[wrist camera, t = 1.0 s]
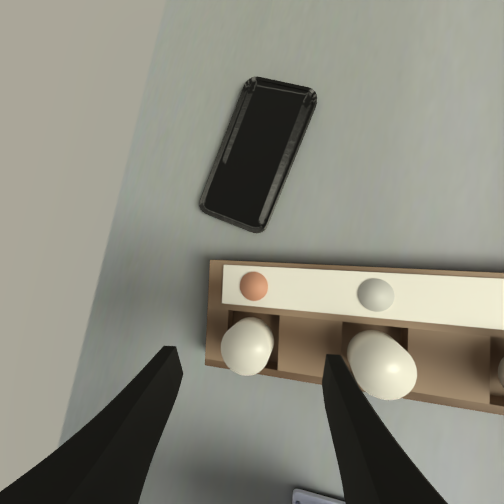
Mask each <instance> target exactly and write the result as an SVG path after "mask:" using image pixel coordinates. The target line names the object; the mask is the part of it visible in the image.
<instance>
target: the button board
mask: <svg viewBox="0 0 504 504" xmlns="http://www.w3.org/2000/svg"><path fill="white" fill-rule="evenodd" d="M224 265H241V266H261V267H281V268H301V269H320V270H340V271H360V272H380V273H400V274H420V275H440V276H460V277H480V278H500V279H504V273H498V272H476V271H454V270H432V269H409V268H387V267H365V266H343V265H320V264H298V263H276V262H254V261H232V260H210V270H209V291H208V311H207V332H206V353H205V365H208V366H213V367H219V368H225V369H230V368H229V367H228V366H227V365H226V363H225V362H224V360H223V357H222V354H221V342H222V338H223V336H224V334H225V333H226V332H227V331H228V330H229V329H230V328H231V327H232V326H234V325H235V324H236V323H237V322H238V321H240V320H241V319H243V318H247V317H255V318H258V319H261V320H262V321H264V322H265V323H266V324H267V325H268V326H269V327H270V329H271V331H272V333H273V337H274V346H273V349H272V352H271V354H270V357H269V359H268V361H267V364H266V365H265V367H264V368H263V369H262V370H261V371H260V372H259V373H257V374H261V375H267V376H273V377H279V378H285V379H291V380H297V381H303V382H309V383H315V384H321V385H322V378H323V371H324V365H325V359H326V354H336V355H341V356H342V358H343V359H344V361H345V363H346V365H347V367H348V369H349V370H350V372H351V374H352V376H353V377H354V374H353V372H352V369H351V366H350V364H349V361H348V358H347V348H348V344H349V342H350V341H351V339H352V338H353V337H354V336H355V335H356V334H358V333H360V332H362V331H366V330H377V331H381V332H384V333H386V334H387V335H389V336H390V337H392V338H393V339H394V340H395V341H396V342H397V343H398V344H399V345H400V346H402V347H403V348H404V349H405V350H406V351H407V352H408V353H409V354H410V356H411V357H412V359H413V360H414V362H415V365H416V369H417V379H416V383H415V385H414V387H413V389H412V390H411V391H410V392H409V393H408V394H407V395H405V396H404V397H401V398H404V399H410V400H416V401H422V402H428V403H434V404H440V405H446V406H452V407H458V408H464V409H470V410H476V411H482V412H487V413H493V414H499V415H504V388H503V387H502V385H501V383H500V381H499V377H498V367H499V364H500V361H501V360H502V358H503V357H504V330H500V329H489V328H479V327H468V326H457V325H447V324H436V323H426V322H415V321H404V320H394V319H383V318H372V317H362V316H351V315H341V314H330V313H319V312H309V311H298V310H288V309H277V308H266V307H256V306H245V305H235V304H224V303H222V290H223V268H224ZM354 379H355V377H354ZM355 381H356V379H355ZM356 382H357V381H356ZM357 384H358V382H357ZM358 386H359V387H360V385H359V384H358ZM360 389H361V390H362V392H366V391H364V390H363V389H362V388H361V387H360Z"/></svg>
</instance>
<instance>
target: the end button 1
mask: <svg viewBox="0 0 504 504" xmlns="http://www.w3.org/2000/svg"><path fill="white" fill-rule="evenodd" d="M273 346H274V337H273V333H272V331H271V329H270V327H269V326H268V325H267V324H266V323H265V322H264V321H262V320H261V319H258V318H255V317H247V318H243V319H241V320H240V321H238V322H237V323H236V324H235V325H234V326H232V327H231V328H230V329H229V330H228V331H227V332H226V333H225V334H224V336H223V338H222V342H221V354H222V357H223V360H224V362H225V363H226V365H227V366H228V367H229V368H230V369H231V370H232V371H234V372H235V373H237V374H240V375H244V376H250V375H254V374H257V373H259V372H260V371H261V370H262V369H263V368H264V367H265V365H266V364H267V361H268V359H269V357H270V354H271V352H272V349H273Z"/></svg>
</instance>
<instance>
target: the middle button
mask: <svg viewBox="0 0 504 504" xmlns="http://www.w3.org/2000/svg"><path fill="white" fill-rule="evenodd" d="M347 358H348V361H349V364H350V366H351V369H352V372H353V374H354V377H355V379H356V381H357V382H358V384H359V385H360V387H361V388H362V389H363V390H364V391H366V392H367V393H368V394H370V395H372V396H374V397H376V398H379V399H383V400H395V399H399V398H401V397H404V396H405V395H407V394H408V393H409V392H410V391H411V390H412V389H413V387H414V385H415V383H416V379H417V369H416V365H415V362H414V360H413V359H412V357H411V356H410V354H409V353H408V352H407V351H406V350H405V349H404V348H403V347H402V346H400V345H399V344H398V343H397V342H396V341H395V340H394V339H393V338H392V337H390V336H389V335H387V334H386V333H384V332H381V331H377V330H366V331H362V332H360V333H358V334H356V335H355V336H354V337H353V338H352V339H351V341H350V342H349V344H348V348H347Z"/></svg>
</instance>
